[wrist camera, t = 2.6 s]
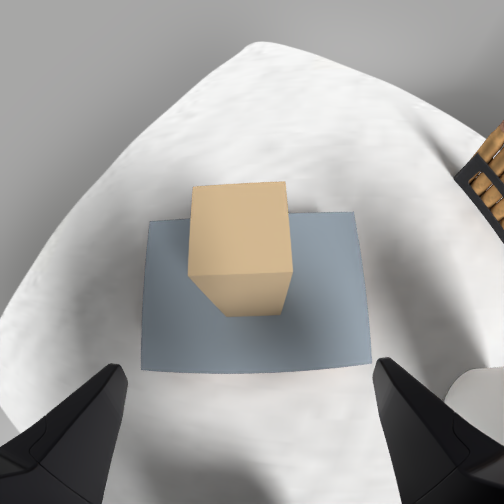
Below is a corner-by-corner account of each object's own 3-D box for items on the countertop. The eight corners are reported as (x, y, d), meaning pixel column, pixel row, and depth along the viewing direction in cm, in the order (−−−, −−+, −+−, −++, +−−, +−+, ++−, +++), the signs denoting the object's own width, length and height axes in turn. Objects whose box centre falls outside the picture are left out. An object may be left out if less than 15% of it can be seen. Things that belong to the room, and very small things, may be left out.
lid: (366, 363, 17) (456, 360, 8) (147, 369, 17) (47, 369, 8) (350, 218, 20) (398, 119, 11) (154, 227, 21) (88, 138, 12)
